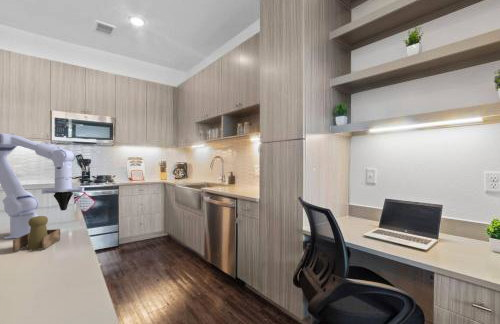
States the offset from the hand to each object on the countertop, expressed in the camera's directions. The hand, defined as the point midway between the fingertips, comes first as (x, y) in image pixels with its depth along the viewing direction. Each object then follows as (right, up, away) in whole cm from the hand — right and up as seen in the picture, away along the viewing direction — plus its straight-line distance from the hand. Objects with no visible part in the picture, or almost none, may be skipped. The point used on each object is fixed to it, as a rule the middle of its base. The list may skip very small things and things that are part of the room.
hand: (63, 209), depth 99 cm
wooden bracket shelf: (+2, -10, -14) cm, 17 cm away
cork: (+2, -11, -14) cm, 18 cm away
